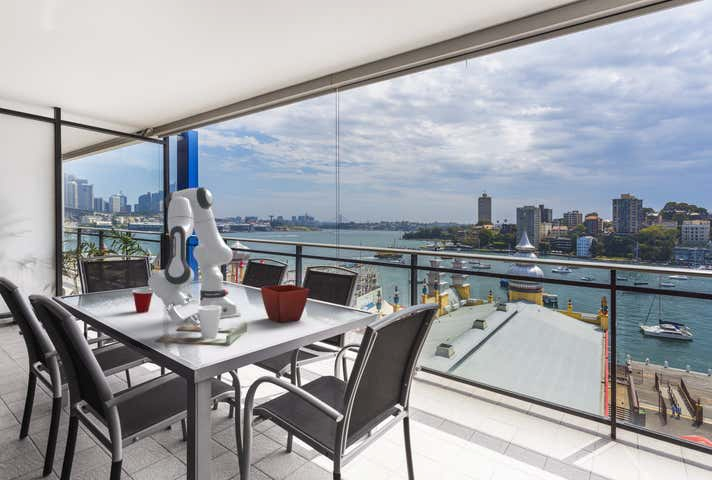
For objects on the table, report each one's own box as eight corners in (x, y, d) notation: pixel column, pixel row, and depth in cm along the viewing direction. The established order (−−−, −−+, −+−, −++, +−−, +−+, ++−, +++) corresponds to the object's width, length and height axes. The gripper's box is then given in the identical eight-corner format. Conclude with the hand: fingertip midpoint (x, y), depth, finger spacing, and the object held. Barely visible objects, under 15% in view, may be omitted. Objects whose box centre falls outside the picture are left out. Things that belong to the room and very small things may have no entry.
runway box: (154, 342, 156) (155, 332, 155) (181, 328, 178) (181, 319, 177) (229, 345, 155) (230, 335, 154) (247, 330, 177) (247, 322, 176)
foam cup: (203, 333, 170) (204, 304, 170) (223, 334, 170) (224, 305, 169) (193, 339, 161) (194, 309, 160) (215, 340, 160) (215, 310, 160)
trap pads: (181, 341, 155) (181, 340, 155) (204, 327, 177) (204, 326, 177) (195, 341, 155) (195, 341, 155) (216, 327, 177) (216, 327, 177)
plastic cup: (147, 314, 202) (147, 292, 202) (127, 313, 202) (127, 291, 202) (157, 309, 213) (158, 288, 212) (139, 309, 213) (139, 288, 213)
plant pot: (277, 325, 188) (277, 292, 187) (259, 318, 202) (260, 286, 201) (308, 320, 200) (309, 289, 200) (290, 313, 215) (290, 284, 214)
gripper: (169, 301, 155) (192, 326, 155) (193, 293, 176) (213, 315, 176) (158, 311, 156) (181, 336, 155) (183, 302, 176) (203, 324, 176)
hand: (198, 325), depth 166 cm, fingers closed, pressing on foam cup
